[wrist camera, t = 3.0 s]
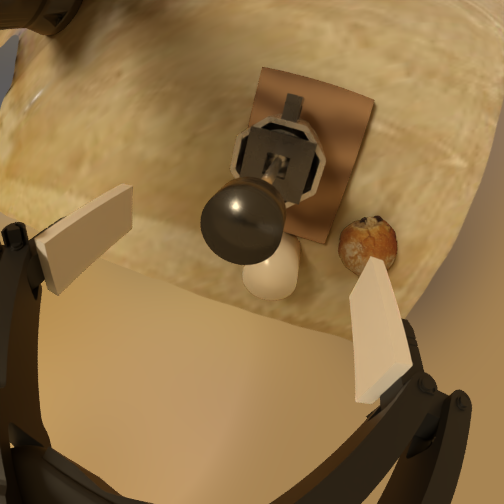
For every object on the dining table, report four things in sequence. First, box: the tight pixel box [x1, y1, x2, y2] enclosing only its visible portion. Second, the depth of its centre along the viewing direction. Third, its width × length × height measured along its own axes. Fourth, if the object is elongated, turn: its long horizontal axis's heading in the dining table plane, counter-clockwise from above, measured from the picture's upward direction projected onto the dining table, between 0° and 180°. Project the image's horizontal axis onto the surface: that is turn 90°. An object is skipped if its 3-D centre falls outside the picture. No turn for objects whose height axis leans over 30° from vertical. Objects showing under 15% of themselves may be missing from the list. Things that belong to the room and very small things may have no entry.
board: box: [248, 67, 374, 244], centre depth 38 cm, size 24×16×1 cm, turn 168°
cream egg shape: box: [242, 232, 301, 301], centre depth 43 cm, size 9×8×9 cm
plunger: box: [200, 129, 311, 265], centre depth 22 cm, size 7×7×18 cm
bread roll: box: [338, 216, 397, 276], centre depth 41 cm, size 10×10×8 cm
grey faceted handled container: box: [230, 93, 326, 208], centre depth 31 cm, size 13×10×12 cm
